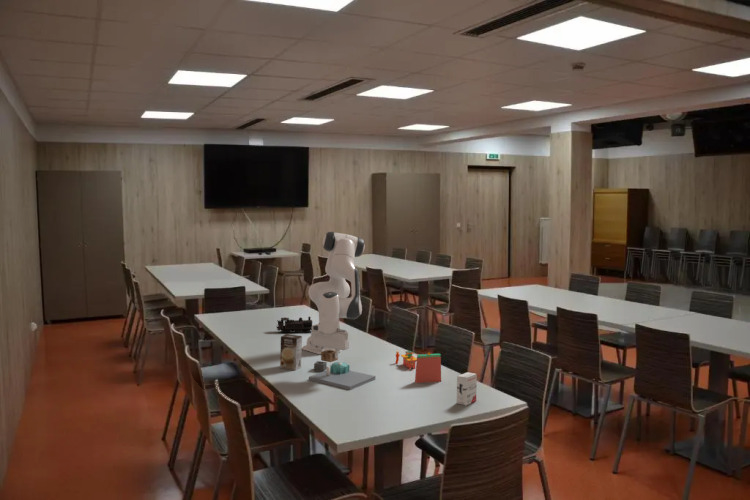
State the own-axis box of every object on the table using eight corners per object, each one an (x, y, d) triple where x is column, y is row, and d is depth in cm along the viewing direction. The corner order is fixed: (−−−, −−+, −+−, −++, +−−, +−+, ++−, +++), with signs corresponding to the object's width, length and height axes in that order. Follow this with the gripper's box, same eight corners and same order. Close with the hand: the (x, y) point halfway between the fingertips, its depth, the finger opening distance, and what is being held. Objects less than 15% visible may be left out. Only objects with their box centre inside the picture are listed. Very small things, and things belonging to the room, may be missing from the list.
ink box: (466, 398, 252) (467, 371, 251) (476, 401, 249) (477, 373, 248) (455, 403, 246) (456, 375, 245) (465, 405, 243) (466, 377, 242)
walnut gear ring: (320, 360, 273) (320, 352, 273) (329, 357, 279) (329, 349, 279) (329, 362, 270) (329, 354, 270) (338, 359, 276) (339, 350, 276)
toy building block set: (416, 383, 272) (417, 353, 271) (392, 363, 306) (393, 336, 305) (441, 381, 276) (442, 352, 275) (414, 361, 309) (415, 335, 308)
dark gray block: (314, 370, 288) (314, 363, 288) (317, 368, 293) (317, 361, 292) (323, 371, 287) (323, 364, 286) (326, 369, 291) (326, 362, 291)
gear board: (308, 379, 273) (308, 368, 273) (335, 370, 290) (335, 359, 289) (350, 389, 260) (350, 377, 259) (375, 379, 277) (375, 367, 276)
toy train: (316, 333, 371) (316, 317, 370) (276, 334, 366) (276, 318, 365) (315, 330, 378) (315, 315, 377) (276, 331, 374) (276, 315, 373)
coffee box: (279, 368, 291) (279, 336, 290) (285, 365, 297) (285, 333, 296) (296, 370, 288) (296, 338, 287) (301, 367, 294) (302, 335, 293)
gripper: (352, 329, 271) (351, 358, 272) (317, 323, 282) (316, 352, 283) (343, 331, 265) (343, 361, 266) (308, 325, 276) (308, 354, 277)
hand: (329, 356), depth 275 cm, fingers closed on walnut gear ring, 6 cm apart
